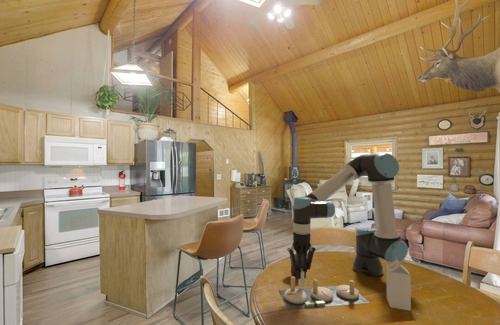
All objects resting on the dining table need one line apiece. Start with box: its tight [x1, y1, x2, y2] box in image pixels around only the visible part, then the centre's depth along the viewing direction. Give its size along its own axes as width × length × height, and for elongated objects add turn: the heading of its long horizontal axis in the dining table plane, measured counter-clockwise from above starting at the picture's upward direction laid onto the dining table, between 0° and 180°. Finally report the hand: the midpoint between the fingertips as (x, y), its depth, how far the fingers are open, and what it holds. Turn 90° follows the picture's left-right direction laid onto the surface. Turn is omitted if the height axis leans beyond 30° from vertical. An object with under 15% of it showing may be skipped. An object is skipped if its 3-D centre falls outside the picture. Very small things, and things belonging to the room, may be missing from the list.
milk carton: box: [386, 258, 412, 312], centre depth 99 cm, size 7×7×19 cm
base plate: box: [278, 284, 370, 311], centre depth 104 cm, size 35×15×2 cm, turn 99°
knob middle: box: [311, 278, 333, 302], centre depth 104 cm, size 9×9×7 cm
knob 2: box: [336, 279, 360, 299], centre depth 106 cm, size 9×9×7 cm
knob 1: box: [285, 275, 307, 304], centre depth 102 cm, size 9×9×7 cm
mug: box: [289, 253, 302, 278], centre depth 124 cm, size 12×9×10 cm
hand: (301, 285), depth 106 cm, fingers closed
